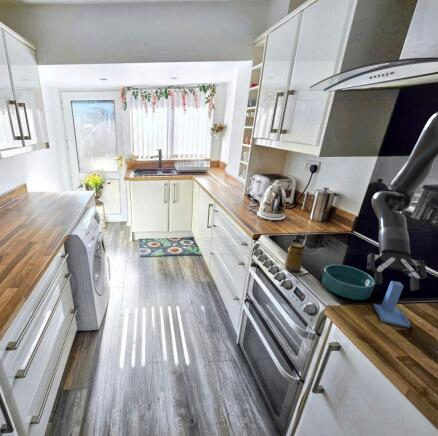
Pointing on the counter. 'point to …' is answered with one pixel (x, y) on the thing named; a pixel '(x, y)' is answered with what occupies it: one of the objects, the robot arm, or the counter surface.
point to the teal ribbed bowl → (348, 282)
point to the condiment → (294, 259)
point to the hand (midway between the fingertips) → (396, 287)
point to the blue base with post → (392, 306)
